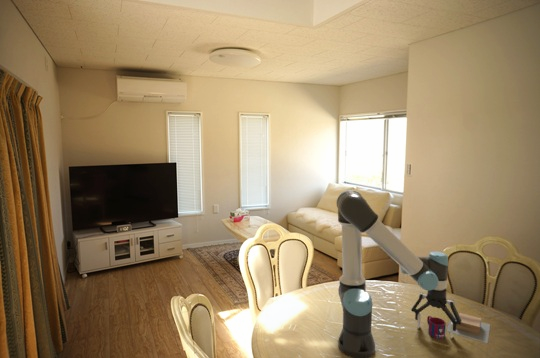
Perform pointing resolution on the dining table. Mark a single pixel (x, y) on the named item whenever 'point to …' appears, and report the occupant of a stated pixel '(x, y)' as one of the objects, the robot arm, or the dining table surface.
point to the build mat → (481, 337)
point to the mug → (436, 327)
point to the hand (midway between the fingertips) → (434, 331)
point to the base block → (469, 324)
